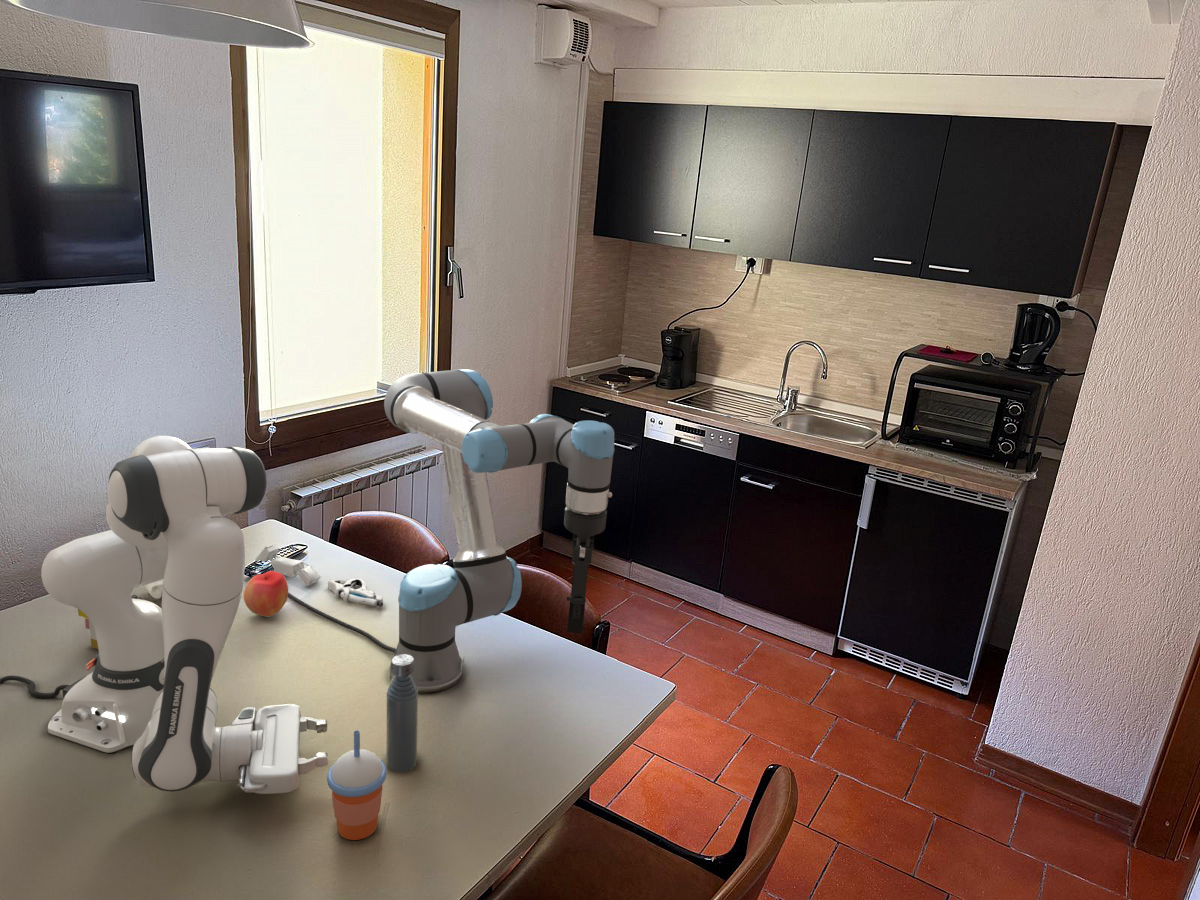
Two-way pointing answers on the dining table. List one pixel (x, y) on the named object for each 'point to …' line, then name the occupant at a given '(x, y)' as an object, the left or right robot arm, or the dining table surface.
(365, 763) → the cup with straw
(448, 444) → the right robot arm
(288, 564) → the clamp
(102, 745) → the left robot arm
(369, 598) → the toy gun
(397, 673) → the cap
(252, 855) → the dining table surface
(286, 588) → the apple
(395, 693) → the bottle
